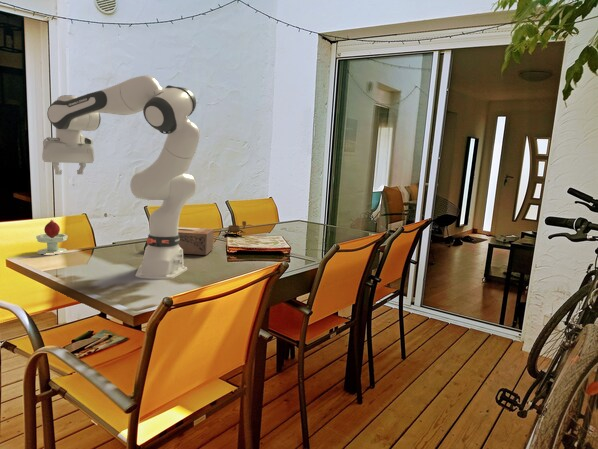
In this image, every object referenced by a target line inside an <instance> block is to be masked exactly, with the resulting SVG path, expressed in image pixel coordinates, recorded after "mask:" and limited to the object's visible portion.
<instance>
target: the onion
mask: <svg viewBox="0 0 598 449" xmlns="http://www.w3.org/2000/svg"><path fill="white" fill-rule="evenodd" d="M43 230H44V234H46V235H48V236H49V237H50V238H54V237H55V236H57V235H58V234H60V231H61V229H60V225H59V224H58V223H56V222H55V221H54V219H50V221H49V222H48V223H47V224H46V225H45V226H44V229H43Z"/></svg>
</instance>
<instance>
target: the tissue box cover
mask: <svg viewBox="0 0 598 449" xmlns="http://www.w3.org/2000/svg"><path fill="white" fill-rule="evenodd" d="M214 230H215V229H214V228H203V227H202V228H199V227H198V228H197V227H183V226H179V228H178V234H179V238H180V240H179V246H180V247H181V248H182V249H183V255H184V254H186V255H198V256H199V255H200V256H201V255H202V256H206V255H208V254H209V253H210V252H211V251H213V249H214Z"/></svg>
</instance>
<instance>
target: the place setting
mask: <svg viewBox="0 0 598 449" xmlns="http://www.w3.org/2000/svg"><path fill="white" fill-rule="evenodd" d="M241 223H242V226H243V227H242V228H243V229H245V228H246V225H247V221H245V220H243V221H242V222H241ZM240 228H241V226H240V225H237V224H235V225H234V224H231V225H228V226H227V229H224V232H225V233H231V232H233V233H236V234H237V232H239V231H241V232H240V233H243V234H245V233H244V232H245V231H242V230H243V229H240ZM227 230H229V232H226V231H227ZM245 230H246V229H245ZM224 232H223V233H224ZM225 233H224V234H225ZM238 234H239V233H238Z"/></svg>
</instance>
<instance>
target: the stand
mask: <svg viewBox="0 0 598 449" xmlns="http://www.w3.org/2000/svg"><path fill="white" fill-rule="evenodd" d="M68 237H69V236H68V234H65V233H59V234H58V235H57V236H55V237H54V238H50V237H49V236H48V235H46V233H43V234H41V233H40V234H39V235H36V238H35V239H36V240H37V242H38V243H42V244H44V243H45V244H46V247H45V248H43V249H39V250H37V255H39V254H46V253H54V252H63V251H67V252H68V250H67V249H68V248H67V249H66V248H64V247H59V245H58V244H59V243H63V242H66V241H67V239H68Z"/></svg>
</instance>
